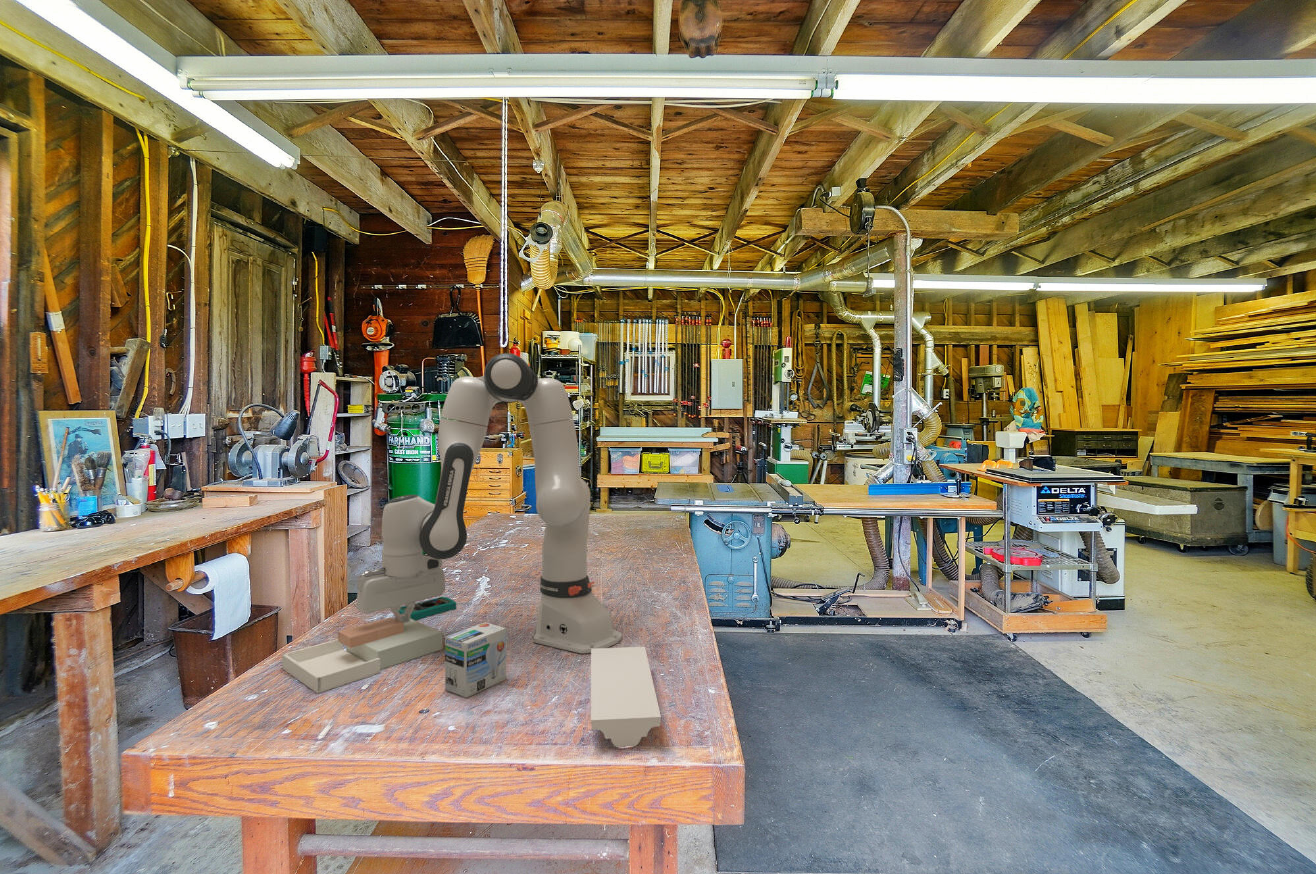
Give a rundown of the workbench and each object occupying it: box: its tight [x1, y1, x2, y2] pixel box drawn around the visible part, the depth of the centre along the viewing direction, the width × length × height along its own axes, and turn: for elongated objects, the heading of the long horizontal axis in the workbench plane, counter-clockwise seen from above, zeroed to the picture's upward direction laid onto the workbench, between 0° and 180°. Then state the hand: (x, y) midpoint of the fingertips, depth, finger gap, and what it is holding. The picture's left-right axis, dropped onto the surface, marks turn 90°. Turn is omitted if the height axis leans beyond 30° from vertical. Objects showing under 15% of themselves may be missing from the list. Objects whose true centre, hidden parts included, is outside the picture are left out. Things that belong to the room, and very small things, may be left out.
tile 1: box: [337, 623, 378, 648], centre depth 133 cm, size 6×6×2 cm
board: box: [345, 619, 443, 670], centre depth 137 cm, size 15×15×4 cm
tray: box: [281, 638, 381, 694], centre depth 126 cm, size 18×12×3 cm
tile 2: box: [365, 616, 404, 640], centre depth 137 cm, size 6×6×2 cm
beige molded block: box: [590, 646, 662, 748], centre depth 113 cm, size 12×30×5 cm, turn 6°
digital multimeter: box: [398, 596, 457, 621], centre depth 164 cm, size 7×15×3 cm, turn 142°
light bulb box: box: [444, 622, 507, 698], centre depth 120 cm, size 11×7×11 cm, turn 148°
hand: (402, 622), depth 141 cm, fingers closed
